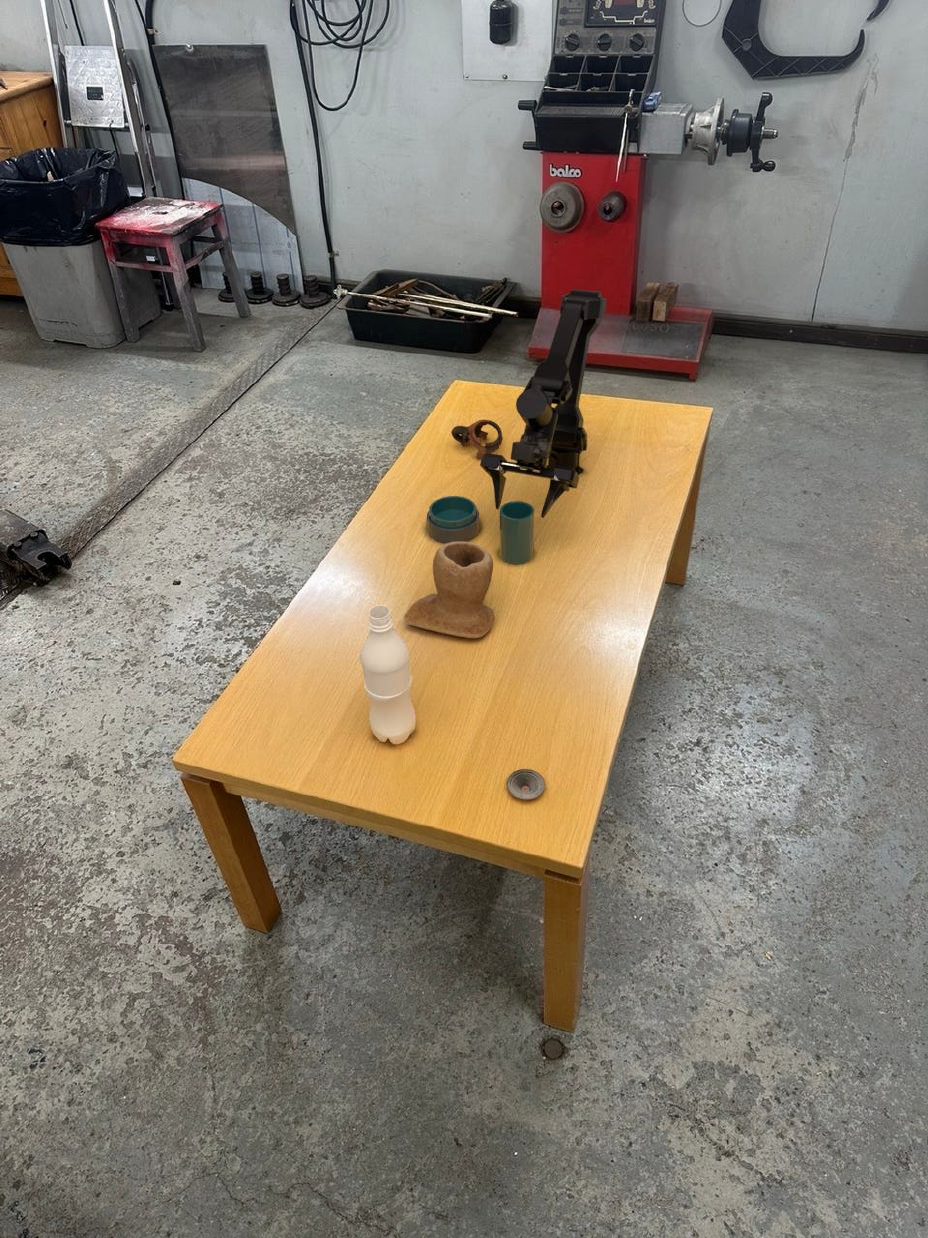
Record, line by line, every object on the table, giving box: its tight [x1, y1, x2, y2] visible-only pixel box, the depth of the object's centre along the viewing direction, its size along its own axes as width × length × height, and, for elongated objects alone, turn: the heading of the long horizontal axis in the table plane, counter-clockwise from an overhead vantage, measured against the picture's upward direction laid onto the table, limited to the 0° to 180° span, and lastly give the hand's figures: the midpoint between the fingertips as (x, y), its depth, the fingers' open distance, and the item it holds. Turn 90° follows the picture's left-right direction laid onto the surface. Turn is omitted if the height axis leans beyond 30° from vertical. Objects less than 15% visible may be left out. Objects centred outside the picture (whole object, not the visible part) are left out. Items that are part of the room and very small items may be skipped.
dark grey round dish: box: [506, 768, 546, 801], centre depth 125 cm, size 6×6×1 cm
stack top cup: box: [428, 495, 477, 529], centre depth 175 cm, size 10×10×5 cm
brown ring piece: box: [450, 419, 504, 460], centre depth 199 cm, size 12×10×8 cm
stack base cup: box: [426, 507, 481, 544], centre depth 175 cm, size 11×11×3 cm
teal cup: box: [499, 500, 535, 565], centre depth 166 cm, size 6×6×10 cm
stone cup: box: [403, 541, 496, 639], centre depth 150 cm, size 15×12×15 cm
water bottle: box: [359, 604, 417, 745], centre depth 126 cm, size 7×7×25 cm
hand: (519, 513), depth 164 cm, fingers open, 9 cm apart
